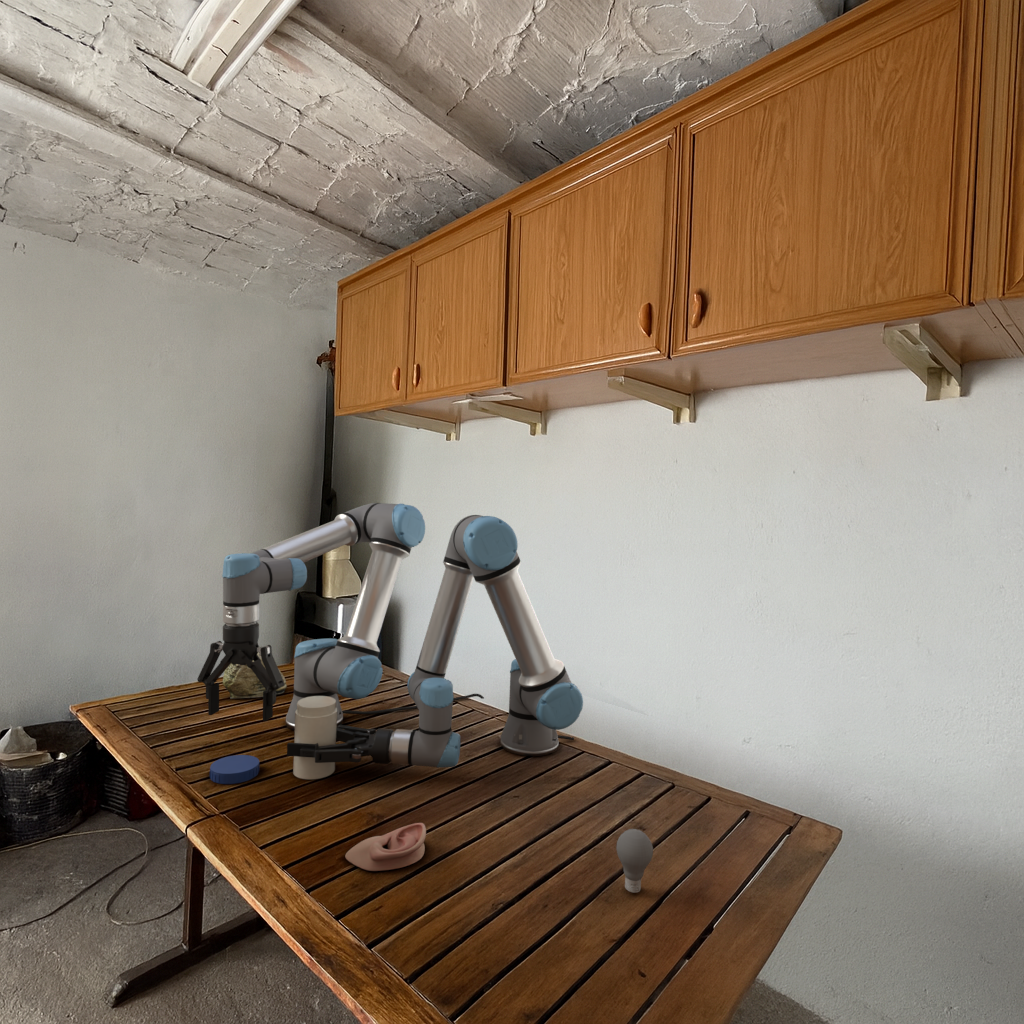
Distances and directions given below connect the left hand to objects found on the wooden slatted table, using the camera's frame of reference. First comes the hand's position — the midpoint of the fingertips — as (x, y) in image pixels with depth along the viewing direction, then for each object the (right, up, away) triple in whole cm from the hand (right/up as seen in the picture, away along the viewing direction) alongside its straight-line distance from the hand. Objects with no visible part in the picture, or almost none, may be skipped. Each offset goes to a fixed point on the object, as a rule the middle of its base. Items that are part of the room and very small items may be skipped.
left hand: (240, 716), depth 143 cm
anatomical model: (+39, -15, -30) cm, 51 cm away
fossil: (-19, -11, +55) cm, 59 cm away
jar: (+16, -14, +3) cm, 21 cm away
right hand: (+11, -7, +3) cm, 14 cm away
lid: (-1, -11, -1) cm, 11 cm away
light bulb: (+81, -17, -37) cm, 91 cm away
